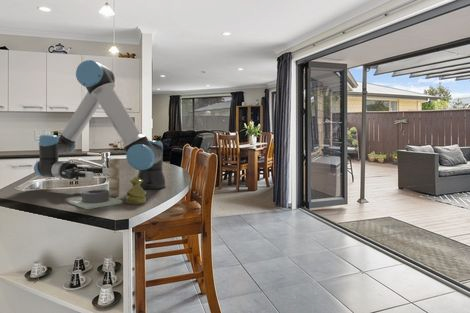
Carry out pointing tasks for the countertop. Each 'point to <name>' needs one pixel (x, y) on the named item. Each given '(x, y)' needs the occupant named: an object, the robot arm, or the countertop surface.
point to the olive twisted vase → (136, 192)
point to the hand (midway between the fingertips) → (104, 173)
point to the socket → (95, 199)
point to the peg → (113, 177)
